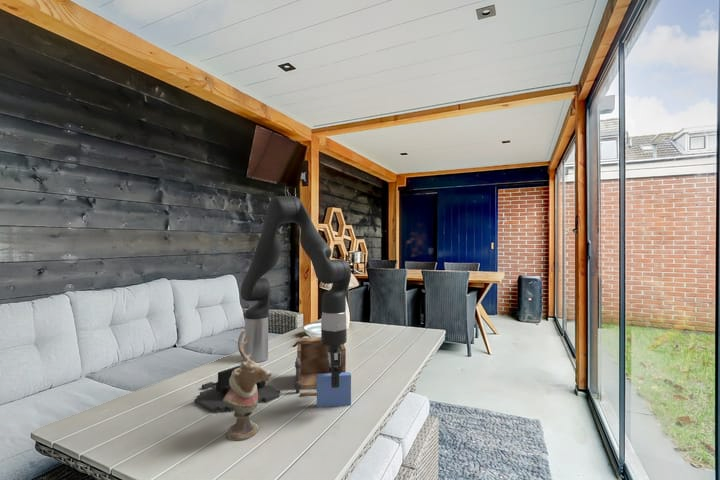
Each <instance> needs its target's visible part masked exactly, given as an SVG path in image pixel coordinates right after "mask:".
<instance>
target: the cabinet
mask: <svg viewBox="0 0 720 480" xmlns="http://www.w3.org/2000/svg"><path fill="white" fill-rule="evenodd" d="M296 347H297V350H296V352H297V353H296V358H295V362H294V368H295V380H294V387H295V393H296V394H299V397H313V396H317V391H309V392H301V391H300V390H315V389H316V390H317V374H324V373H329V362H328V361H329V360H328V357H327V348H328V345H324V344H323V343H322V342H321V336H320V337H319V336H317V337H316V336H315V337H297V346H296ZM339 348H340V350H341V366H340V371H341V373H342V372H347V370H346V366H347V365H346V364H347V363H346V360H347V359H346V357H347V356H346V355H347V354H346V353H347V352H346V351H347V350H346V347H345V344H342V345H339ZM337 370H338V367H337Z"/></svg>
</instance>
